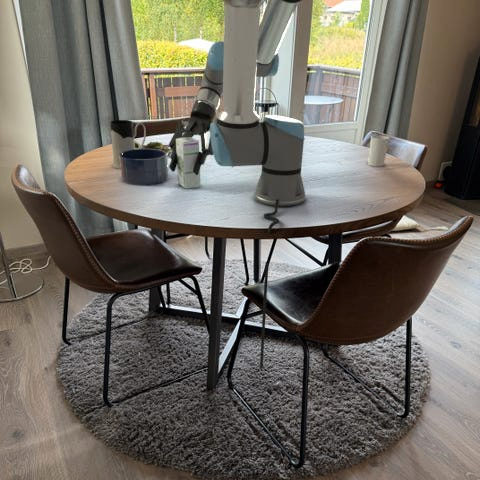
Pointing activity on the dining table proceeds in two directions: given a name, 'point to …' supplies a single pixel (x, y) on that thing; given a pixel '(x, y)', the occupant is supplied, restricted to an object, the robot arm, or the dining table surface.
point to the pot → (144, 166)
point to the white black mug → (123, 138)
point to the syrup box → (187, 162)
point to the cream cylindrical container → (378, 150)
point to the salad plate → (154, 146)
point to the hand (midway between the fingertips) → (183, 170)
